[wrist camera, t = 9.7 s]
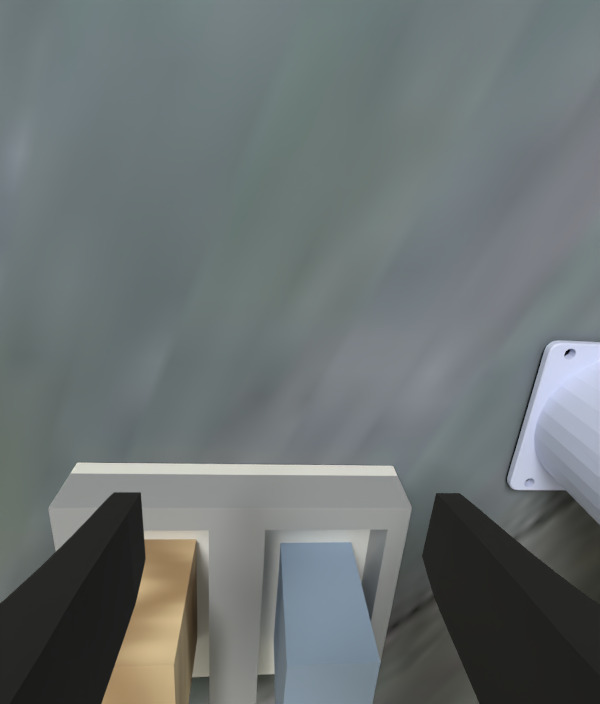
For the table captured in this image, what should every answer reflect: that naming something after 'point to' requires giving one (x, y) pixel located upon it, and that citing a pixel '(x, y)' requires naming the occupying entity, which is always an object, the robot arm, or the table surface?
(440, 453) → the table surface
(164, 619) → the maple plug block
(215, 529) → the grey socket board
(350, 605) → the slate-blue plug block
